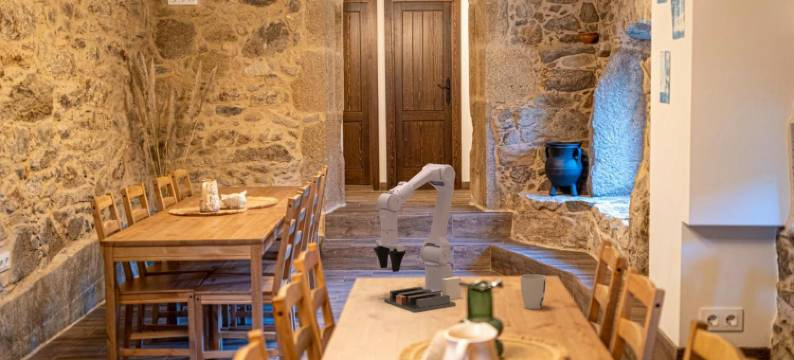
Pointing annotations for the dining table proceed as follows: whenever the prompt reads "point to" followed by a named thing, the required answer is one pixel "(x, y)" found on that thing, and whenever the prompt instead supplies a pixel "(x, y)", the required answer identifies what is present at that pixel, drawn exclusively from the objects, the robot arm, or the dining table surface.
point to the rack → (418, 299)
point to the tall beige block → (451, 287)
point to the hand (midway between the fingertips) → (389, 269)
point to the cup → (533, 290)
